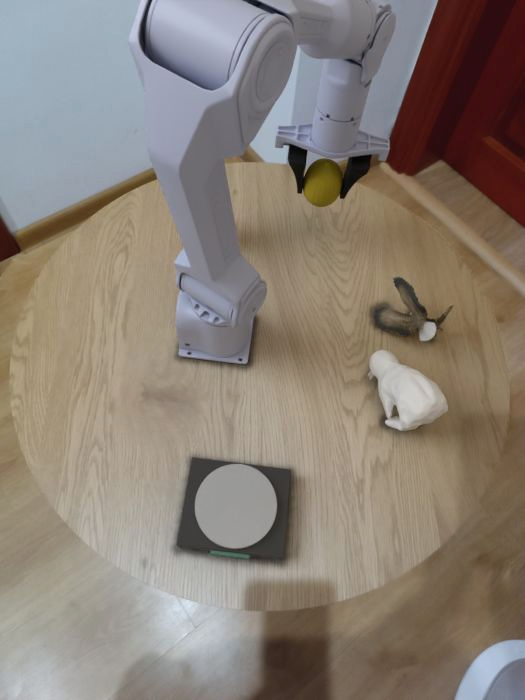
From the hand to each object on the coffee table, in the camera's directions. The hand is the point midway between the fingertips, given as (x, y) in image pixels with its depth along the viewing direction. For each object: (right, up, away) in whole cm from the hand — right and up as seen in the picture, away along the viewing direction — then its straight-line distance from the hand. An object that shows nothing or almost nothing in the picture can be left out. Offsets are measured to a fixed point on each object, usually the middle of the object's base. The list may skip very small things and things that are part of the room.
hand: (321, 191), depth 72 cm
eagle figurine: (+12, -19, +2) cm, 23 cm away
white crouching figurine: (+9, -29, -4) cm, 31 cm away
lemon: (0, -1, +2) cm, 3 cm away
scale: (-12, -42, -12) cm, 45 cm away
